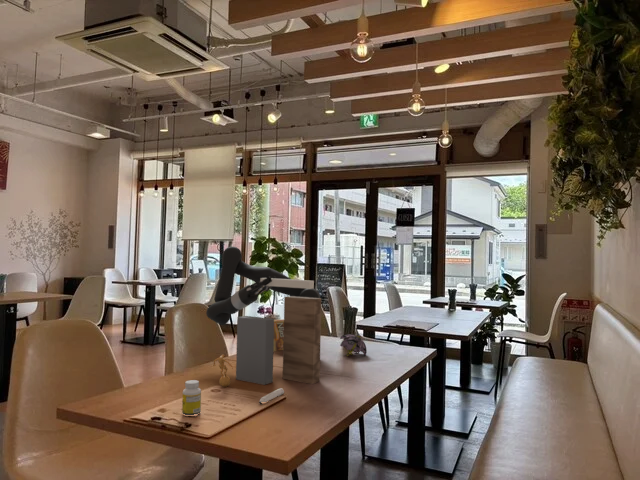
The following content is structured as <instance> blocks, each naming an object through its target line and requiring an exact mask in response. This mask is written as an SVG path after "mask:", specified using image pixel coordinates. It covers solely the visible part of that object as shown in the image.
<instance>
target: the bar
mask: <svg viewBox="0 0 640 480" xmlns="http://www.w3.org/2000/svg"><path fill="white" fill-rule="evenodd" d="M265 279H266V278H260V281H263V280H265ZM271 279H272V282H270V283H269V284H267V285H265V286H276V287H291V288H306V289H312V288H314V289H315V285H314V283H315V280H309V279H307V280H305V279H292V278H290V279H275V278H271Z"/></svg>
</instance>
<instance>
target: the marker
mask: <svg viewBox="0 0 640 480" xmlns="http://www.w3.org/2000/svg"><path fill="white" fill-rule="evenodd" d="M284 393H285V390H284V389H283V388H282V387H279V388H277V389H276V390H273V391H271V392H269V393H268V394H265V395H264V396H262V397H260V399H259V402H258V403H261V402H267V401H269V400H271V399H273V398H275V397H277V396H278V397H281V396H282V395H284ZM278 397H277V398H278ZM275 399H276V398H275ZM273 400H274V399H273ZM271 401H272V400H271ZM269 402H270V401H269Z"/></svg>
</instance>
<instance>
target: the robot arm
mask: <svg viewBox="0 0 640 480" xmlns="http://www.w3.org/2000/svg"><path fill="white" fill-rule="evenodd" d="M221 256H222V257H221V258H222V259H221V265H222V267H221V273H220V276H219V280H218V284H217V287H216V290H215V295H214V299H213V300H214V303H211V304H210V305H209V306H208V307H207V309H206V313H205V314H206V317H207V318H208V319H210V320H211V321H213V322H215V323H217V324H219V325H220V326H222V325H223V326H224V325H226V324H228V323H229V321H230V319H231V316H232V315H234V314H236V313H238V312H240V310H241V311H242V310H243V309H245V308H247V307H248V306H250V305H251V304H253V303H254V302H256V301H257V300H258V298H259V295H261V294H263V293H264V292H269V291H274V292H276V293H280V294H283V295H287V296H288V297H289V296H295V297H309V298H321V294H320V293H319V291H318V290H317V289H316V288H315V287H314V288H312V289H306V288H291V287H276V286H265V285H267V284H269V283H270V282H272V279H271V278H275V279H291V278H290V277H289V276H287V275H285V274H283V273H281V272H280V271H277V270H276V269H274V268H270V267H268V266H256V265H255V266H253V265H250V264H249V263H247V262H244V261H243V259H242V258H243V255H242V251H241V249H240V248H239V247H236V246H228V247H226V248H225V249H224V250H223V252H222V255H221ZM235 274H236V275H237V276H240V277H243V278H246V279H248V280H250V281H252V282H254V283H252V284H247V285H245V286H244V287H242V288H241V289H239V290H237V291H236V292H235V293H233V288H234V280H235ZM260 278H266V279H265V280H263V281H260ZM232 293H233V294H232Z"/></svg>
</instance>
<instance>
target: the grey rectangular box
mask: <svg viewBox="0 0 640 480" xmlns="http://www.w3.org/2000/svg"><path fill="white" fill-rule="evenodd" d="M236 319H237V325H236V360H235V362H236V364H235V366H236V367H235V380H238V381H244V382H248V383H254V384H258V385H265V386H266V385H268V384H271V383H273V382H274V380H273V379H274V378H273V377H274V351H273V347H274V320H275V319H274V318H271V317H270V318H268V317H261V316H260V317H259V316H250V315H244V316H237V318H236Z"/></svg>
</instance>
